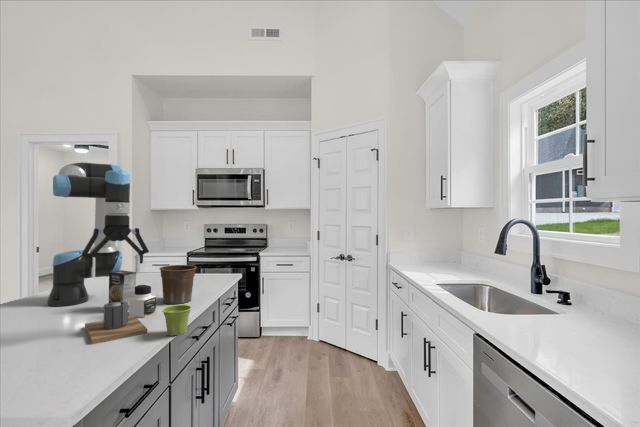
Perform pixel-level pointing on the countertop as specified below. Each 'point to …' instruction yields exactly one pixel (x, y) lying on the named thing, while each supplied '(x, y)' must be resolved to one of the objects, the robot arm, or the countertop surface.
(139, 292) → the medicine bottle
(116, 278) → the coffee box
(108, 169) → the robot arm
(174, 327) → the plant pot
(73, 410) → the countertop surface
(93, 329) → the board
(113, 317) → the knob
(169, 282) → the plant pot
